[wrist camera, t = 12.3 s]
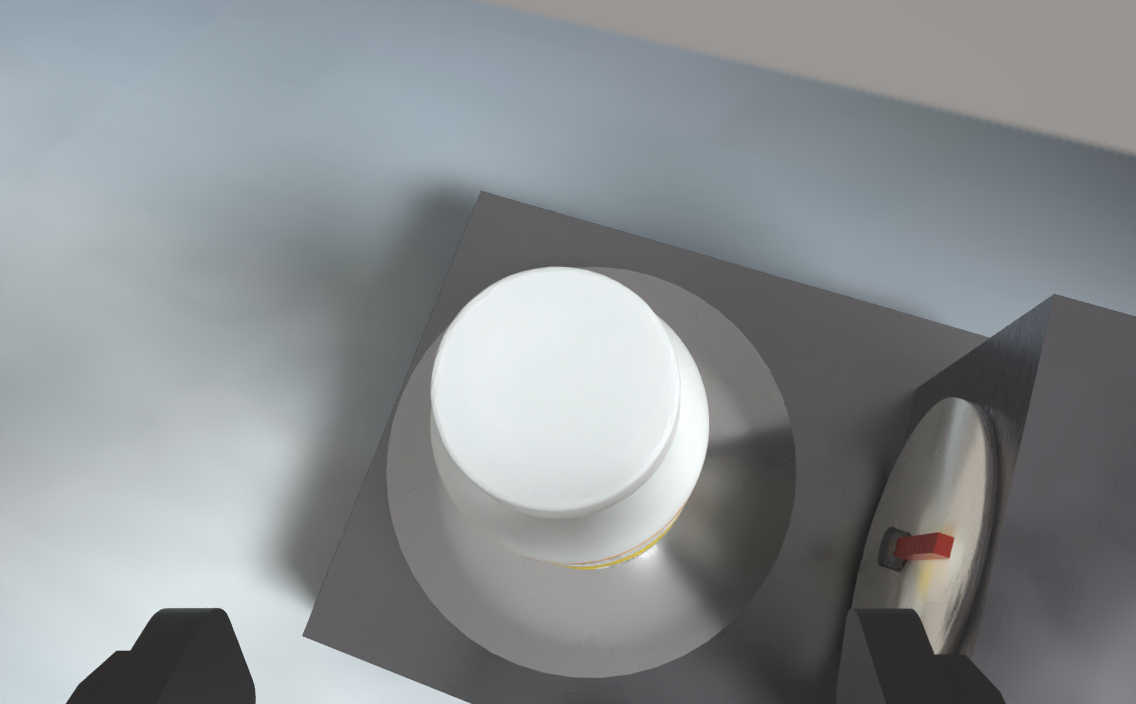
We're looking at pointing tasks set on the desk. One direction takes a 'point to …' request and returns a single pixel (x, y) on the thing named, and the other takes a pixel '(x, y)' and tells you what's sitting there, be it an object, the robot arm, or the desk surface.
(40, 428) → the desk surface
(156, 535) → the desk surface
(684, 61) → the desk surface
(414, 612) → the scale
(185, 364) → the desk surface
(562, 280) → the supplement bottle
